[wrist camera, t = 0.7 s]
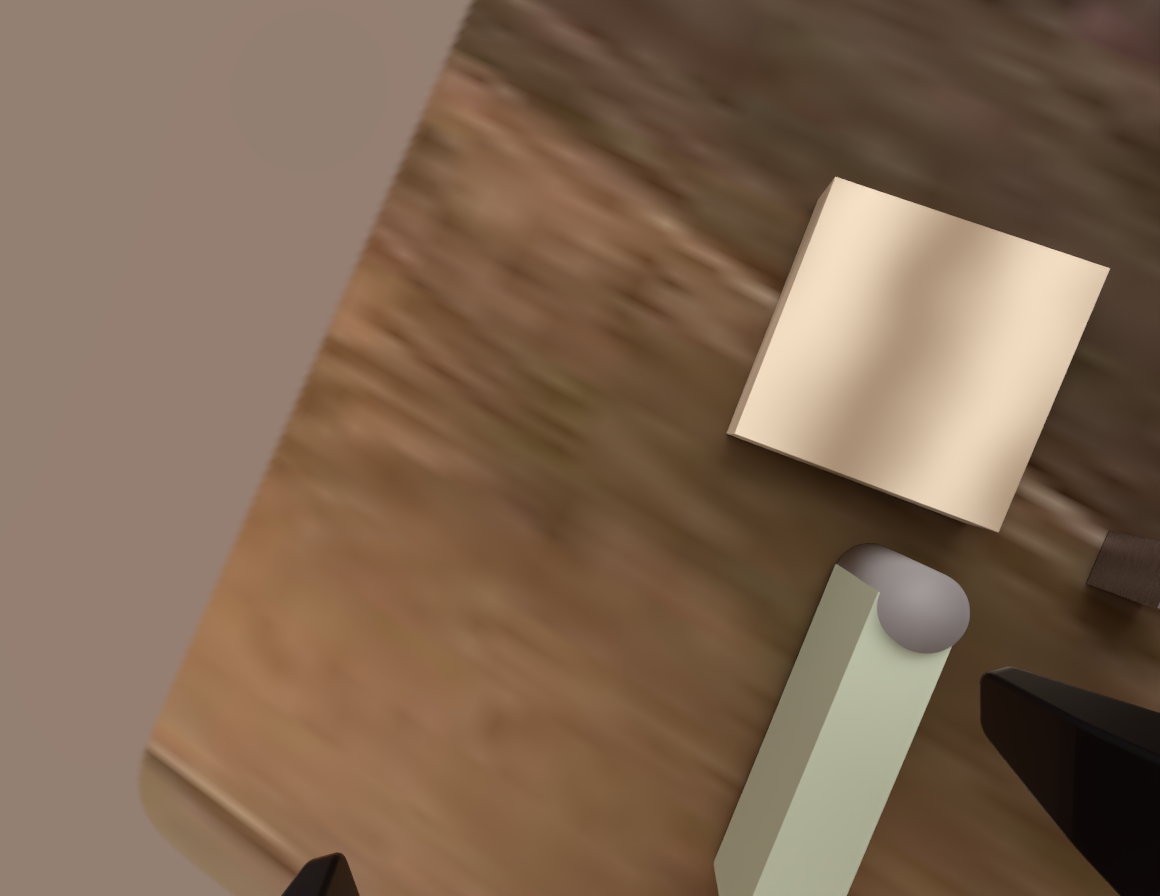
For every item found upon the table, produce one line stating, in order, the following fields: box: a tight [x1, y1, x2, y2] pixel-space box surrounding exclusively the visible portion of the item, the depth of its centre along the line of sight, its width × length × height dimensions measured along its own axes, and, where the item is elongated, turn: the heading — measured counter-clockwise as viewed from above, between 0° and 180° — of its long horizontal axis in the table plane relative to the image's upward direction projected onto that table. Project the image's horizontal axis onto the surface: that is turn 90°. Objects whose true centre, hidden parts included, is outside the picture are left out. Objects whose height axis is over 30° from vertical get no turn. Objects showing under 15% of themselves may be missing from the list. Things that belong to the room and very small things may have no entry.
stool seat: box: [726, 177, 1110, 532], centre depth 21 cm, size 9×9×2 cm
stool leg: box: [713, 543, 970, 896], centre depth 20 cm, size 13×2×4 cm, turn 159°
